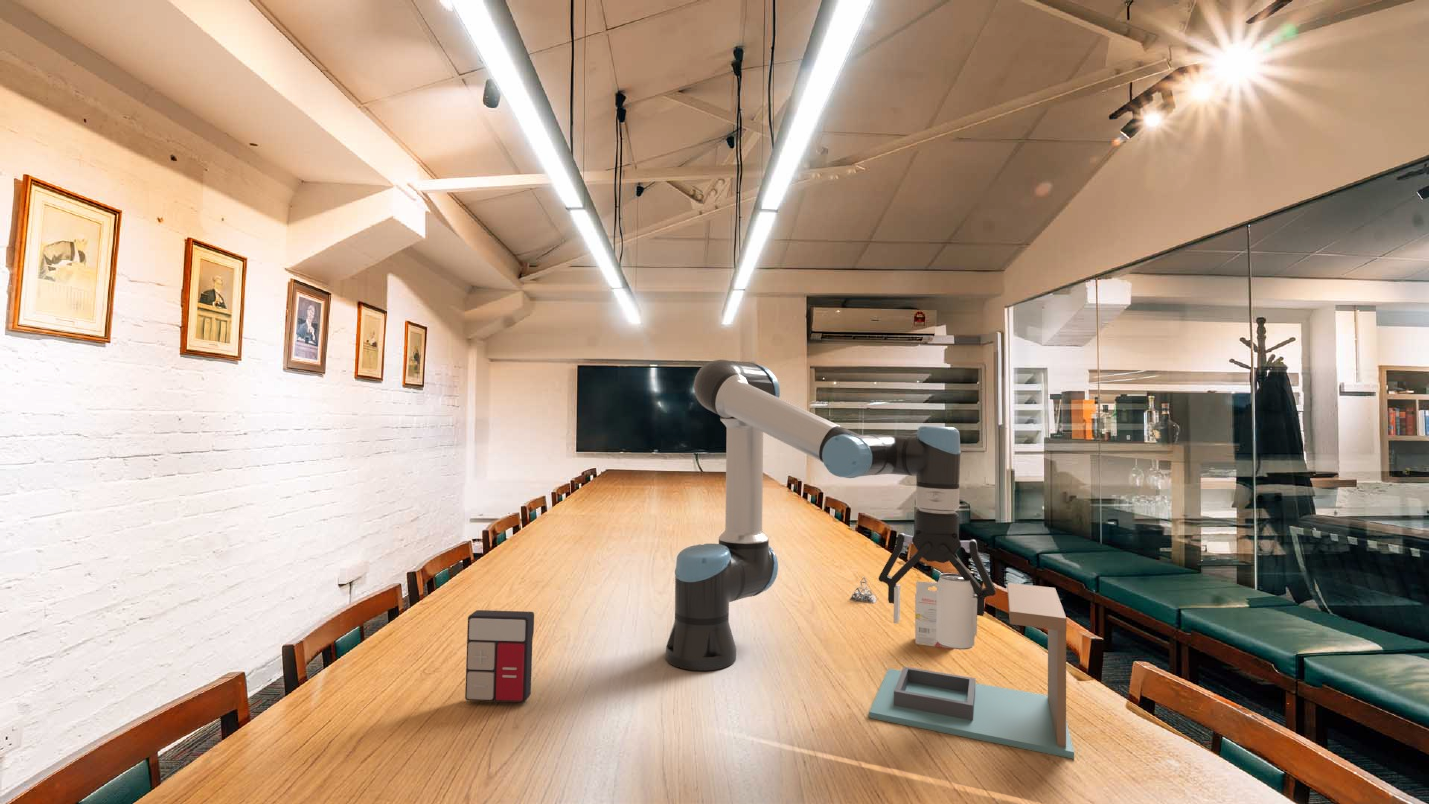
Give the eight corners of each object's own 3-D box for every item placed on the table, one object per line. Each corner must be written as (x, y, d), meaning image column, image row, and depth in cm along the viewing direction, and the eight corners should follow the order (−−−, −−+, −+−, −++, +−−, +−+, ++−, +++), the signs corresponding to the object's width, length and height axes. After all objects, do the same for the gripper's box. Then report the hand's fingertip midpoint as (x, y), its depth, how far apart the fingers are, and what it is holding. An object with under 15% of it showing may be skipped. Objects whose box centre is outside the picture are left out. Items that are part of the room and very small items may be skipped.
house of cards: (888, 601, 186) (888, 575, 186) (879, 609, 178) (879, 581, 179) (858, 597, 190) (858, 571, 191) (848, 603, 183) (848, 576, 183)
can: (977, 651, 112) (978, 582, 112) (938, 648, 113) (939, 579, 114) (970, 639, 118) (971, 574, 119) (934, 636, 119) (934, 571, 120)
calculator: (462, 702, 113) (465, 616, 114) (472, 692, 118) (475, 609, 118) (524, 704, 113) (527, 618, 114) (532, 694, 117) (534, 611, 118)
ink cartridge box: (954, 644, 150) (955, 580, 150) (954, 650, 145) (954, 585, 145) (916, 638, 153) (916, 576, 153) (914, 645, 148) (915, 581, 149)
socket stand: (869, 717, 111) (870, 594, 111) (888, 673, 131) (889, 569, 131) (1074, 758, 98) (1074, 620, 99) (1060, 702, 118) (1060, 588, 119)
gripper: (864, 507, 119) (862, 622, 119) (1012, 519, 109) (1009, 644, 109) (872, 502, 126) (869, 611, 126) (1011, 513, 116) (1009, 632, 116)
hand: (934, 627), depth 117 cm, fingers open, 13 cm apart
